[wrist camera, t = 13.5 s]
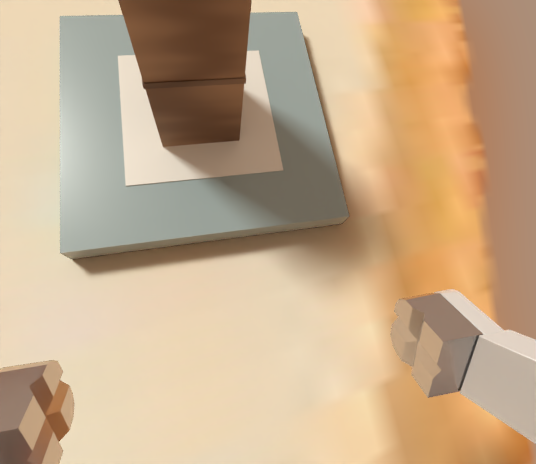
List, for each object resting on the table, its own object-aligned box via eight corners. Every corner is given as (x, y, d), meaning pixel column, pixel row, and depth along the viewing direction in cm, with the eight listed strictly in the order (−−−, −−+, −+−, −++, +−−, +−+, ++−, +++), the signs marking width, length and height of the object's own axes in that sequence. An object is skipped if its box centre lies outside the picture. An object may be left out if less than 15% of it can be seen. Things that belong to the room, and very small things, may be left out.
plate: (71, 259, 17) (59, 252, 16) (68, 34, 21) (59, 15, 19) (341, 223, 19) (349, 216, 18) (293, 28, 23) (297, 11, 22)
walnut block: (161, 147, 18) (106, -32, 9) (155, 82, 19) (101, -130, 10) (240, 141, 18) (256, -31, 10) (229, 78, 20) (235, -123, 11)
